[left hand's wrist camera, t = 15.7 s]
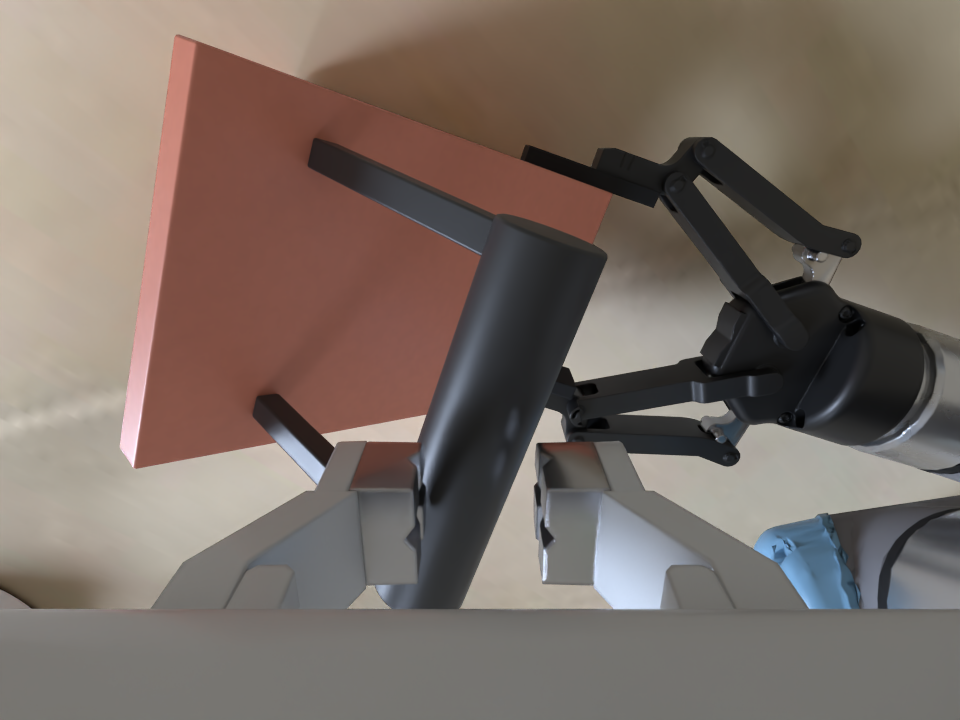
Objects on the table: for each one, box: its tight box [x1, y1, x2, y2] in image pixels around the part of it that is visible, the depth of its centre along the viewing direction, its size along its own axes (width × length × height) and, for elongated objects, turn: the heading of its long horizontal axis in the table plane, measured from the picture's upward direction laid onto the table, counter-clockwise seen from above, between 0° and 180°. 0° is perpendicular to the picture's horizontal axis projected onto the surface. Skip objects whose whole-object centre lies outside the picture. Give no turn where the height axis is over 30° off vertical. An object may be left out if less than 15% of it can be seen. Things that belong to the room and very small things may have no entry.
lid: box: [120, 35, 612, 609], centre depth 17 cm, size 17×10×9 cm
